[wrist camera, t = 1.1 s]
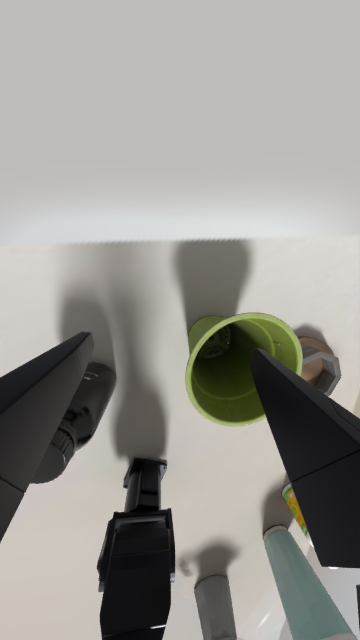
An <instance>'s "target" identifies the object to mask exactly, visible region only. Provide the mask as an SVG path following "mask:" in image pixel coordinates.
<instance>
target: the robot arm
mask: <svg viewBox="0 0 360 640" xmlns="http://www.w3.org/2000/svg"><path fill="white" fill-rule="evenodd" d="M93 347H94V344H93V337H92V334H91V333H90V332H81V333H79V334H77V335H75V336H73V337H72V338H70V339H68V340H66V341H65V342H63V343H61V344H59V345H57V346H56V347H54V348H52V349H50V350H48V351H47V352H45V353H43V354H41V355H40V356H38V357H36V358H34V359H32V360H31V361H29V362H27V363H25V364H24V365H22V366H20V367H18V368H16V369H15V370H13V371H11V372H9V373H7V374H6V375H4V376H2V377H0V542H1V540H2V538H3V536H4V534H5V532H6V530H7V528H8V526H9V524H10V522H11V520H12V518H13V516H14V514H15V512H16V510H17V508H18V506H19V504H20V502H21V500H22V498H23V496H24V493H25V492H26V490H27V488H28V486H29V484H30V482H31V480H32V478H33V476H34V474H35V472H36V470H37V468H38V466H39V464H40V462H41V460H42V458H43V456H44V454H45V452H46V450H47V448H48V446H49V444H50V442H51V440H52V438H53V436H54V434H55V432H56V430H57V428H58V426H59V424H60V422H61V420H62V418H63V416H64V414H65V412H66V410H67V408H68V406H69V404H70V402H71V400H72V398H73V396H74V394H75V392H76V390H77V388H78V386H79V384H80V382H81V380H82V377H83V375H84V373H85V370H86V367H87V364H88V362H89V359H90V356H91V353H92V351H93ZM249 365H250V369H251V373H252V377H253V381H254V384H255V388H256V391H257V393H258V396H259V399H260V401H261V404H262V407H263V410H264V412H265V415H266V418H267V421H268V423H269V426H270V429H271V431H272V434H273V437H274V440H275V442H276V445H277V448H278V450H279V453H280V456H281V459H282V461H283V464H284V467H285V470H286V472H287V475H288V478H289V480H290V482H291V486H292V489H293V492H294V494H295V497H296V500H297V503H298V505H299V508H300V511H301V513H302V516H303V519H304V522H305V524H306V527H307V530H308V533H309V535H310V538H311V541H312V543H313V546H314V549H315V552H316V554H317V557H318V559H319V562H320V564H321V566H322V567H342V568H360V419H359V418H358V417H356V416H355V415H353V414H352V413H351V412H349V411H348V410H346V409H345V408H343V407H342V406H341V405H339V404H338V403H336V402H335V401H334V400H332V399H331V398H329V397H328V396H327V395H325V394H324V393H322V392H321V391H320V390H318V389H317V388H316V387H314V386H313V385H311V384H310V383H309V382H307V381H306V380H304V379H303V378H302V377H300V376H299V375H298V374H296V373H295V372H293V371H292V370H291V369H289V368H288V367H286V366H285V365H284V364H282V363H281V362H280V361H278V360H277V359H275V358H274V357H273V356H271V355H270V354H268V353H267V352H266V351H264V350H263V349H254V350H253V352H252V354H251V355H250V357H249ZM166 469H167V464H165V463H159V462H154V461H148V460H143V459H137V458H136V459H134V460H133V462H132V465H131V467H130V469H129V472H128V474H127V477H126V479H125V482H124V485H123V487H124V488H127V489H128V490H127V496H126V503H125V509H124V512H114V515H113V518H112V519H111V520H110V521H109V522H108V526H107V531H106V535H105V539H104V543H103V546H102V550H101V553H100V556H99V560H98V565H97V570H98V573H99V581H100V582H99V592H103V591H104V594H103V599H102V605H101V611H100V625H101V634H102V640H162V638H163V634H164V630H165V627H166V623H167V619H168V615H169V611H170V605H171V582H174V578H175V542H174V532H173V522H172V513H171V508H168V509H165V510H161V480H162V478H163V476H164V474H165V472H166ZM356 588H357V601H358V614H359V628H360V585H356Z"/></svg>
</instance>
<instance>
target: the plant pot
mask: <svg viewBox="0 0 360 640" xmlns="http://www.w3.org/2000/svg"><path fill="white" fill-rule="evenodd" d="M223 329H226V331H227V337H225V336H224V331H223ZM210 336H212V337H213V340H211V341H210V340H209V337H210ZM224 341H225V342H224ZM188 342H189V351H190V357H189V360H188V363H187V368H186V376H185V383H186V390H187V394H188V397H189V399H190V401H191V403H192V404H193V406H194V407H195V409H196V410H197V411H198V412H199V413H200V414H201V415H202V416H203V417H205V418H206V419H208V420H210V421H212V422H214V423H217V424H220V425H224V426H244V425H249V424H252V423H255V422H258V421H261V420H263V419H265V418H266V415H265V412H264V410H263V407H262V404H261V401H260V399H259V396H258V393H257V391H256V388H255V384H254V381H253V377H252V373H251V369H250V365H249V357H250V355H251V354H252V352H253V350H254V349H263V350H264V351H266V352H267V353H268V354H270V355H271V356H273V357H274V358H275V359H277V360H278V361H280V362H281V363H282V364H284V365H285V366H286V367H288V368H289V369H291V370H292V371H293V372H295V373H296V374H298V375H299V376H300V375H301V371H302V360H303V355H302V349H301V345H300V342H299V340H298V338H297V336H296V334H295V333H294V332H293V330H292V329H291V328H290V327H289V326H288V325H287V324H286V323H285V322H283V321H282V320H280V319H278V318H276V317H274V316H272V315H268V314H264V313H243V314H238V315H234V316H232V317H219V316H207V317H204V318H201V319H200V320H198V321H197V322H196V323H195V324H194V325H193V326H192V328H191V330H190V332H189V337H188ZM226 342H228V343H229V344H227V343H226ZM215 350H218V352H216V353H214V354H210V352H213V351H215Z"/></svg>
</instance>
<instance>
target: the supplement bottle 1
mask: <svg viewBox="0 0 360 640" xmlns="http://www.w3.org/2000/svg"><path fill="white" fill-rule="evenodd" d="M115 386H116V379H115V376H114V374H113V372H112V371H111V370H110V369H109V368H108V367H106V366H105V365H102V364H99V363H88V364H87V367H86V370H85V373H84V375H83V377H82V380H81V382H80V384H79V386H78V388H77V390H76V392H75V394H74V396H73V398H72V400H71V402H70V404H69V406H68V408H67V410H66V412H65V414H64V416H63V418H62V420H61V422H60V424H59V426H58V428H57V430H56V432H55V434H54V436H53V438H52V440H51V442H50V444H49V446H48V448H47V450H46V452H45V454H44V456H43V458H42V460H41V462H40V464H39V466H38V468H37V470H36V472H35V474H34V476H33V478H32V480H31V482H30V483H31V484H32V483H35V484H39V483H45V482H49V481H52V480H54V479H55V478H58V476H59V475H61V474H62V472H63V471H64V470H65V468H66V466H67V465H68V463H69V461H70V459H71V458H72V457H73V455H74V453H75V451H77V450H79V449H81V448H82V447H83V446H85V445H86V444H87V443H88V442H89V441H90V440H91V438H92V437H93V435H94V433H95V431H96V429H97V427H98V425H99V423H100V420H101V418H102V416H103V414H104V412H105V410H106V407H107V405H108V403H109V401H110V399H111V397H112V395H113V392H114V390H115Z"/></svg>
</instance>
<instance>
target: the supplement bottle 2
mask: <svg viewBox="0 0 360 640" xmlns="http://www.w3.org/2000/svg"><path fill="white" fill-rule="evenodd" d="M282 496H283V498H284V500H285V502H286V504H287V505H288V507H289V509H290V511H291V512H292V514H293V516H294V518H295V519H296V521H297V523H298V524H299V526H300V528H301V530H302V531H303V533H304V535H305V536H306V538H307V540H308V541H309V543H310V544H311V546H313V543H312V541H311V538H310V535H309V533H308V530H307V527H306V524H305V522H304V519H303V516H302V513H301V511H300V508H299V505H298V503H297V500H296V497H295V494H294V492H293V489H292V486H291V483H289V484H288V485H287V486H285V488H284V489H283V491H282ZM313 547H314V546H313ZM329 568H330V569H336V568H339V567H329Z"/></svg>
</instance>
